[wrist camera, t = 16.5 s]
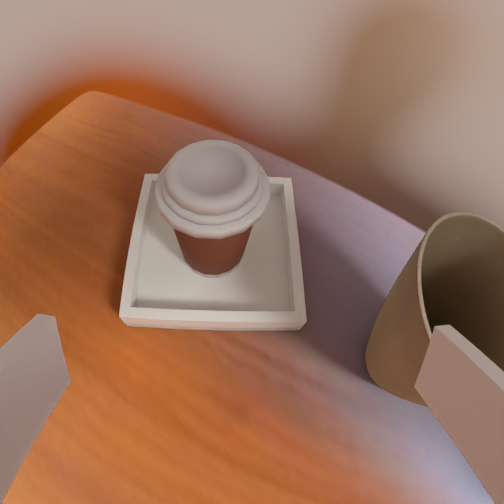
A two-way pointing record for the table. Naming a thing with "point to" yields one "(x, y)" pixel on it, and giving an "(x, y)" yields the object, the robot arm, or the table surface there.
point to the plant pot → (441, 301)
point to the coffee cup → (212, 203)
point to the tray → (222, 288)
